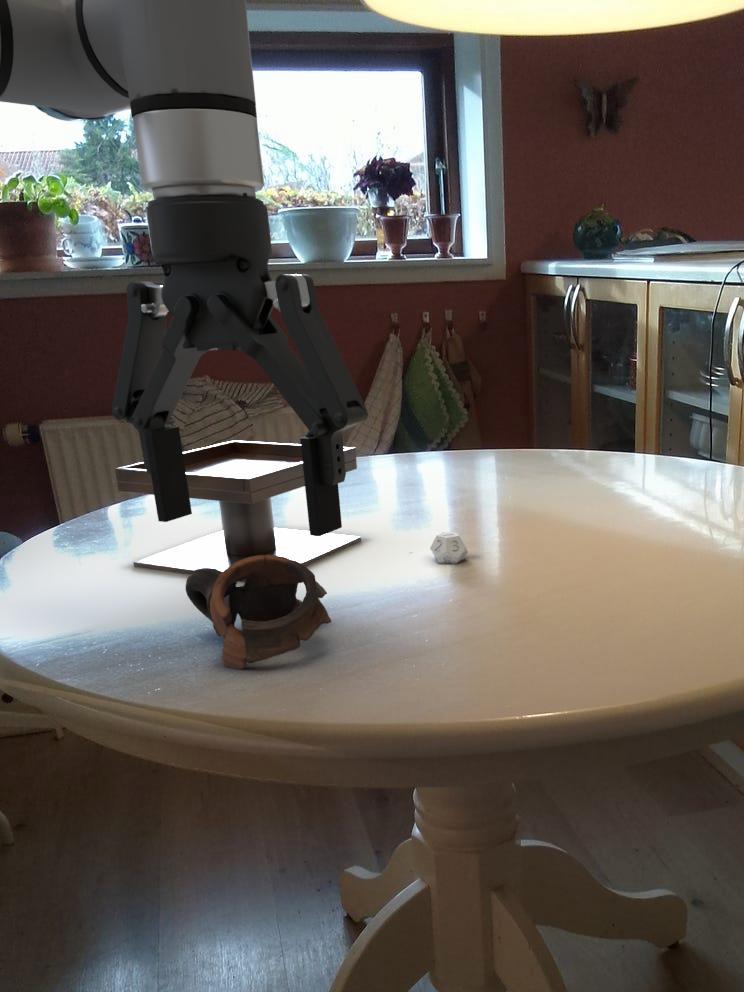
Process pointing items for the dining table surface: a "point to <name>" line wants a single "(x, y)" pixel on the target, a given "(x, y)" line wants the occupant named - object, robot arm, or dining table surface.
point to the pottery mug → (258, 606)
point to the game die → (448, 548)
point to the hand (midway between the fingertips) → (247, 524)
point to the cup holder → (240, 506)
